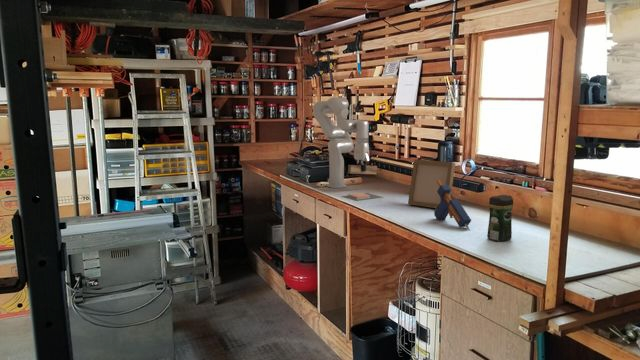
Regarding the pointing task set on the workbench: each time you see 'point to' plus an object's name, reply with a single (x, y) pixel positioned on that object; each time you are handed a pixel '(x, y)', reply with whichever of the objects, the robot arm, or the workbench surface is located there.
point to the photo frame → (429, 182)
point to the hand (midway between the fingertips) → (361, 170)
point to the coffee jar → (500, 218)
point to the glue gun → (450, 207)
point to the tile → (358, 196)
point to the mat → (364, 198)
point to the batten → (357, 169)
